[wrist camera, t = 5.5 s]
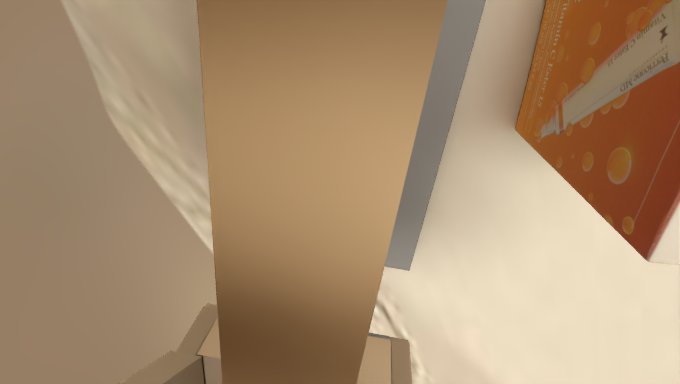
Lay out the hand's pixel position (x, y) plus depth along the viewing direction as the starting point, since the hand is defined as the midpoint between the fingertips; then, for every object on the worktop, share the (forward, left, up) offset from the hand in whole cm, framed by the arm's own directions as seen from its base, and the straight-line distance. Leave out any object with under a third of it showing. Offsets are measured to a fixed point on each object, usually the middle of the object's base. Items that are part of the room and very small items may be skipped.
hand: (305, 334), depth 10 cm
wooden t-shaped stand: (-1, 0, -1) cm, 2 cm away
